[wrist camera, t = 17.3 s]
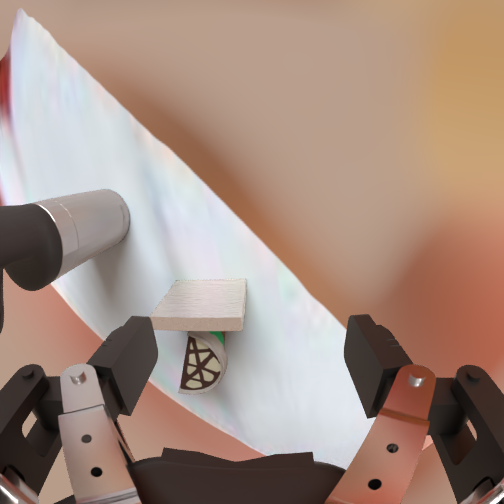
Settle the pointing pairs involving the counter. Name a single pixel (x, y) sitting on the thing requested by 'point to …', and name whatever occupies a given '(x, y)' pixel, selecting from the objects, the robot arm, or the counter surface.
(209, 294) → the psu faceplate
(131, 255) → the counter surface
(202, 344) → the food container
